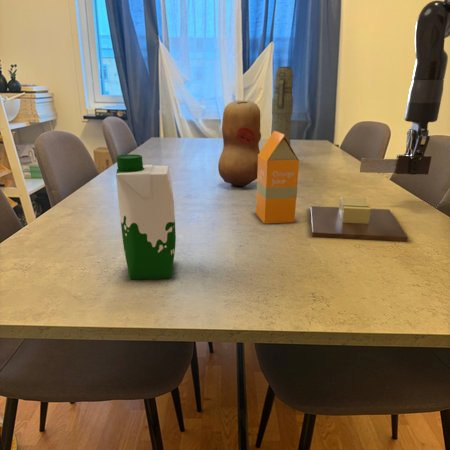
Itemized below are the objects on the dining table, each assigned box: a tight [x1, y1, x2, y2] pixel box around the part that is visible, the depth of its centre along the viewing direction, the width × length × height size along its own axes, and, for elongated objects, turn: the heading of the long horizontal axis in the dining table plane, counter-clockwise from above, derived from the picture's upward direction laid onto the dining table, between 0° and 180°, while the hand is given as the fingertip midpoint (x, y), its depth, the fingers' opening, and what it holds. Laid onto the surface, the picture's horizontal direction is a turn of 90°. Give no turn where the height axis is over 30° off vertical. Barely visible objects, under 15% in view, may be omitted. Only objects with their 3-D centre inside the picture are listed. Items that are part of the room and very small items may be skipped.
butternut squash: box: [217, 100, 262, 187], centre depth 134 cm, size 14×13×25 cm
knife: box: [359, 154, 432, 175], centre depth 112 cm, size 17×2×4 cm, turn 81°
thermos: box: [271, 66, 294, 145], centre depth 184 cm, size 9×12×35 cm
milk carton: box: [115, 153, 177, 280], centre depth 73 cm, size 9×9×20 cm
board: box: [310, 205, 409, 243], centre depth 103 cm, size 20×22×1 cm
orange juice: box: [255, 131, 300, 225], centre depth 103 cm, size 8×9×20 cm
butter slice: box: [342, 206, 372, 224], centre depth 100 cm, size 6×2×4 cm, turn 81°
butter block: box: [338, 196, 370, 219], centre depth 106 cm, size 6×8×4 cm
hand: (410, 172), depth 113 cm, fingers closed on knife, 2 cm apart
